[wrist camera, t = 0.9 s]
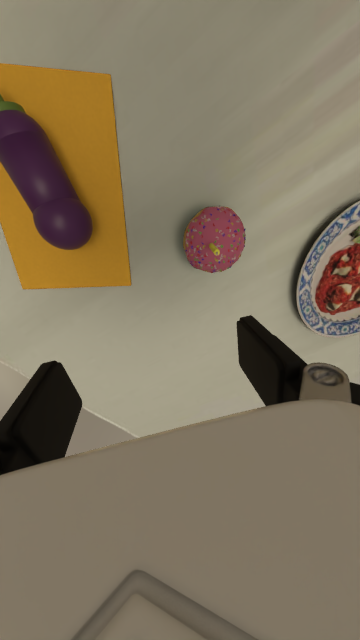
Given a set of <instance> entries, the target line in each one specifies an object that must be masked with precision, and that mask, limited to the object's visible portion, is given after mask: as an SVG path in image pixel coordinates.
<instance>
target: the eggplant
mask: <svg viewBox="0 0 360 640" xmlns="http://www.w3.org/2000/svg"><path fill="white" fill-rule="evenodd" d="M0 162H1V164H2V165H3V167H4V168H5V170H6V172H7V173H8V175H9V176H10V178H11V180H12V181H13V183H14V185H15V186H16V188H17V189H18V191H19V193H20V194H21V196H22V197H23V199H24V201H25V202H26V204H27V205H28V207H29V209H30V210H31V212H32V214H33V220H34V224H35V227H36V229H37V231H38V232H39V234H40V235H41V236H42V238H43V239H44V240H46V241H47V242H48V243H49V244H51V245H53V246H55V247H57V248H60V249H64V250H74V249H78V248H80V247H82V246H84V245H85V244H86V243H87V242H88V241H89V239H90V238H91V235H92V231H93V223H92V219H91V216H90V213H89V212H88V210H87V208H86V207H85V206H84V205H83V204H82V203H81V201H80V199H79V197H78V195H77V193H76V191H75V189H74V187H73V185H72V183H71V182H70V180H69V178H68V176H67V174H66V172H65V170H64V168H63V166H62V164H61V162H60V160H59V158H58V156H57V154H56V152H55V150H54V148H53V146H52V144H51V142H50V140H49V138H48V136H47V135H46V133H45V131H44V130H43V129H42V127H41V126H40V125H39V124H38V123H37V122H36V121H35V120H34V119H33V118H32V117H30V116H29V115H27V114H26V112H25V110H24V108H23V107H22V106H21V105H19V104H17V103H15V102H10V101H4V99H3V98H2V96H1V94H0Z"/></svg>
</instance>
